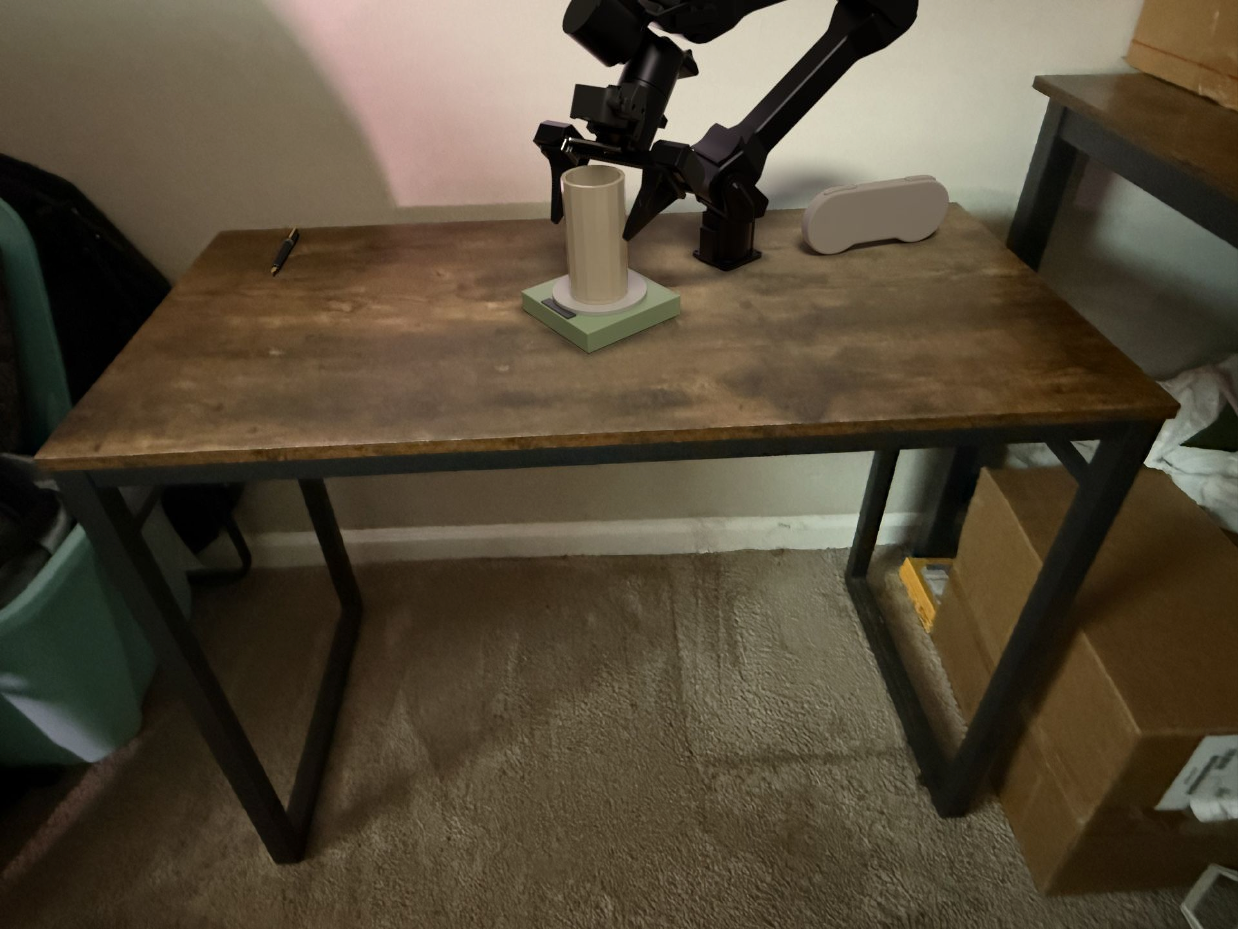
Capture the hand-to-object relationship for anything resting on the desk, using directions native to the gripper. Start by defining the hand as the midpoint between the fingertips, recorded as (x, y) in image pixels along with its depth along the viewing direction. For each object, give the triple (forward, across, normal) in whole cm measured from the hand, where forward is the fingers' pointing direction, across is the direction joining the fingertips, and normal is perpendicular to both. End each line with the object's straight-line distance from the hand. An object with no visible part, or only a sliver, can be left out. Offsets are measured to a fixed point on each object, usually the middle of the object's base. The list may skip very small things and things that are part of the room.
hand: (588, 231), depth 85 cm
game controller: (-16, +20, +32) cm, 41 cm away
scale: (+6, 0, +9) cm, 11 cm away
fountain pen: (+12, -46, +3) cm, 48 cm away
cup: (+4, 0, +6) cm, 8 cm away
